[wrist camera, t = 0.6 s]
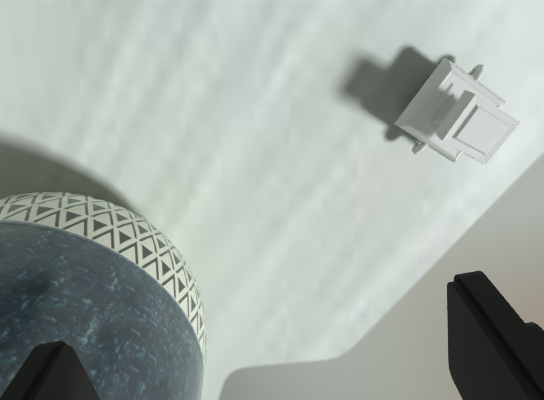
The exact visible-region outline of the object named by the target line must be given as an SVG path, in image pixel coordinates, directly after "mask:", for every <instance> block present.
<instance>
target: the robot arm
mask: <svg viewBox="0 0 544 400" xmlns="http://www.w3.org/2000/svg"><path fill="white" fill-rule="evenodd" d="M447 311H448V358H449V370H450V373H451V376H452V379H453V381H454V383H455V385H456V387H457V389H458V391H459V393H460V395H461V397H462V399H463V400H544V330H542V328H541V327H539V326H538V325H537V324H535V323H533V322H530V323H524V321H523V320H522V319H521V318H520V317H519V315H518V314H517V313H516V312H515V310H514V309H513V308H512V307H511V306H510V304H509V303H508V302H507V301H506V300H505V298H504V297H503V296H502V295H501V294H500V292H499V291H498V290H497V289H496V287H495V286H494V285H493V284H492V283H491V281H490V280H489V279H488V278H487V277H486V275H485V274H484V273H483V272H481V271H475V272H469V273H463V274H458V275H455V277H454V281H453V282H449V283H448V284H447ZM0 400H100V398H99V396H98V394H97V392H96V390H95V388H94V386H93V384H92V383H91V381H90V379H89V377H88V375H87V373H86V371H85V369H84V367H83V365H82V363H81V361H80V359H79V358H78V356H77V354H76V352H75V350H74V348H73V347H72V346H71V345H67V344H66V342H64V341H54V342H48V343H42V344H38V345H36V346H35V347H34V349H33V350H32V351H31V353H30V354H29V356H28V357H27V359H26V360H25V362H24V363H23V365H22V366H21V368H20V369H19V371H18V372H17V374H16V375H15V377H14V378H13V380H12V381H11V382H10V384H9V385H8V387H7V388H6V390H5V391H4V393H3V394H2V396H1V397H0Z"/></svg>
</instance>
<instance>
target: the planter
mask: <svg viewBox="0 0 544 400" xmlns="http://www.w3.org/2000/svg"><path fill="white" fill-rule="evenodd" d="M54 341H64V342H66V344H67V345H71V346H72V347H73V348H74V350H75V352H76V354H77V356H78V358H79V359H80V361H81V363H82V365H83V367H84V369H85V371H86V373H87V375H88V377H89V379H90V381H91V383H92V384H93V386H94V388H95V390H96V392H97V394H98V396H99V398H100V400H201V393H202V386H203V379H204V372H205V364H206V352H207V330H206V321H205V312H204V307H203V303H202V299H201V295H200V292H199V288H198V286H197V283H196V281H195V278H194V276H193V274H192V272H191V270H190V268H189V266H188V264H187V263H186V261H185V259H184V258H183V256H182V255H181V254H180V252H179V251H178V250H177V248H176V247H175V246H174V245H173V244H172V243H171V242H170V241H169V240H168V239H167V238H166V237H165V236H164V235H163V234H162V233H161V232H160V231H159V230H158V229H156V228H155V227H154V226H152V225H151V224H150V223H149V222H147V221H146V220H144V219H143V218H141V217H139V216H138V215H136V214H134V213H132V212H131V211H129V210H127V209H125V208H122V207H120V206H118V205H115V204H113V203H110V202H107V201H104V200H101V199H98V198H94V197H90V196H86V195H81V194H74V193H66V192H36V193H25V194H19V195H14V196H9V197H4V198H0V397H1V396H2V394H3V393H4V391H5V390H6V388H7V387H8V385H9V384H10V382H11V381H12V380H13V378H14V377H15V375H16V374H17V372H18V371H19V369H20V368H21V366H22V365H23V363H24V362H25V360H26V359H27V357H28V356H29V354H30V353H31V351H32V350H33V349H34V347H35V346H36V345H38V344H42V343H48V342H54Z"/></svg>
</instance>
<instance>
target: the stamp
mask: <svg viewBox="0 0 544 400" xmlns="http://www.w3.org/2000/svg"><path fill="white" fill-rule="evenodd" d="M484 68H485V66H484V65H477V66H476V67H474V68H473V69H472V71H471V72H470V73H469V74H468V73H466V72H465V71H463V70H462V69H461V68H459V67H458V66H457V65H455V64H454V63H452V62H451V61H450V60H448V59H447V58H446V57H444V58H443V60H442V61H441V62H440V63H439V65H438V66H437V67H436V69H435V70H434V71H433V73H432V74H431V75H430V77H429V78H428V79H427V81H426V82H425V83H424V85H423V86H422V87H421V89H420V90H419V91H418V93H417V94H416V95H415V97H414V98H413V99H412V101H411V102H410V103H409V105H408V106H407V107H406V109H405V110H404V111H403V113H402V114H401V115H400V117H399V118H398V119H397V121H396V122H395V123H394V124H395V125H397V126H398V127H400V128H401V129H403V130H404V131H406V132H407V133H409V134H410V135H412V136H414V137H415V138H417V141H416V143H415V144H414V146H413V148H412V151H413V153H414V154H418V153H420V152H422V151H423V150H424V149H425V148H426V147H427V146H429V147H430V148H432V149H433V150H435V151H436V152H438V153H439V154H441V155H442V156H444V157H446V158H447V159H449V160H450V161H452V162H454V161H456V160H457V158H458V157H459V156H460V155H461V154H462V153H464V154H466V155H468V156H470V157H471V158H473V159H475V160H477V161H479V162H481V163H483V164H486V163H487V162H488V161H489V159H490V158H491V157H492V156H493V155H494V153H495V152H496V151H497V150H498V149H499V147H500V146H501V145H502V144H503V143H504V141H505V140H506V139H507V138H508V137H509V135H510V134H511V133H512V132H513V130H514V129H515V128H516V127H517V126H518V124H519V123H520V121H518V120H516V119H515V118H513V117H512V116H510V115H508V114H507V113H505V112H504V111H502V110H500V108H501V107H502V105H503V104H504V103H505V101H504V100H503V99H502V98H500V97H499V96H498V95H496V94H495V93H494V92H492V91H491V90H489V89H488V88H487V87H485V86H484V85H483V84H481V83H480V82H479V80H480V78H481V76H482V75H483V73H484Z"/></svg>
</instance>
